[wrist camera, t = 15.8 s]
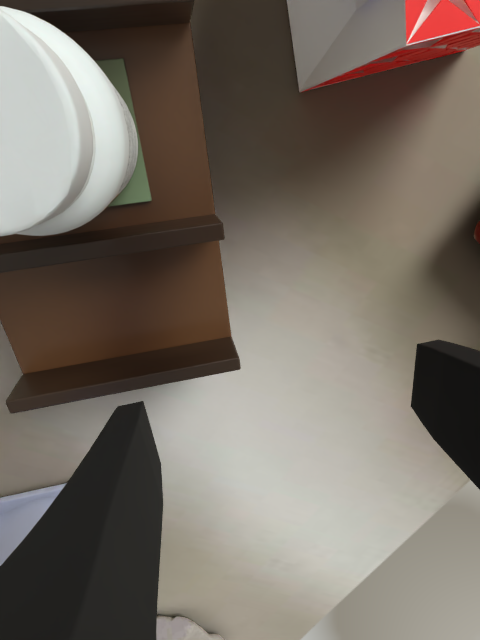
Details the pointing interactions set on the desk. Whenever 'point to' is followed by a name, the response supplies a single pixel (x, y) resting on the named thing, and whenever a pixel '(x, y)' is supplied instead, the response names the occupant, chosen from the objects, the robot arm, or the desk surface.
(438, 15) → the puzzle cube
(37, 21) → the pill bottle
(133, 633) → the robot arm
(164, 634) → the stone
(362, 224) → the desk surface
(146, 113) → the divided wooden tray
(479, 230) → the toy car
